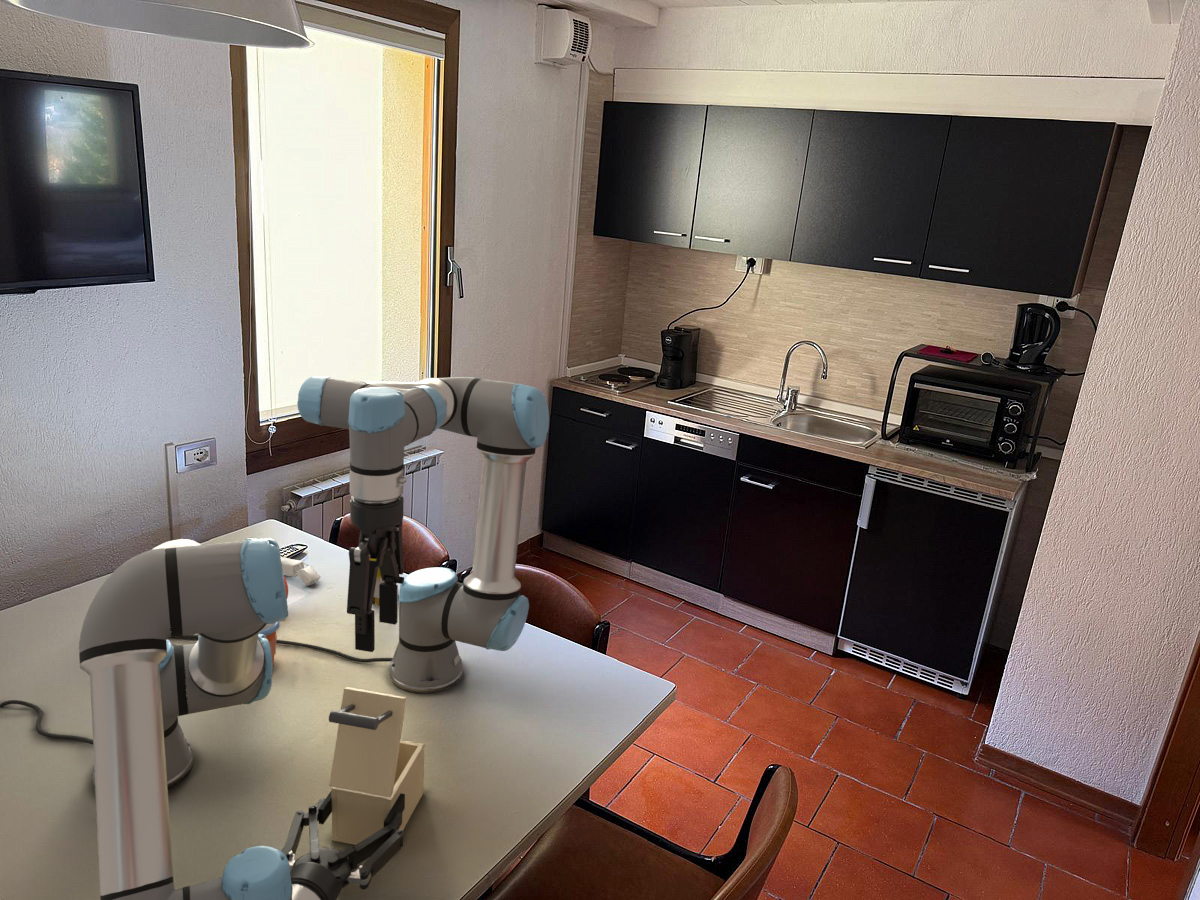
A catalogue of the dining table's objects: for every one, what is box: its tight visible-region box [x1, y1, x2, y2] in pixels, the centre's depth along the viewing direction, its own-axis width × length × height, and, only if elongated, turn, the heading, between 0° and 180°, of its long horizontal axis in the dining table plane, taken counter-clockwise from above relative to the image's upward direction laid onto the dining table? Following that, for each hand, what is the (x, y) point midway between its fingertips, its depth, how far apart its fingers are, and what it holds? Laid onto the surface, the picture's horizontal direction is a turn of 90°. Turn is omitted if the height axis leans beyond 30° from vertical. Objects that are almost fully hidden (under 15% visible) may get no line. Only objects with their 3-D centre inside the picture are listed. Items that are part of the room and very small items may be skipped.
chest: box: [330, 739, 425, 846], centre depth 140 cm, size 14×10×10 cm
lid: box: [328, 686, 407, 798], centre depth 128 cm, size 15×10×8 cm
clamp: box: [279, 547, 322, 587], centre depth 219 cm, size 20×4×7 cm, turn 62°
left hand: (371, 794), depth 136 cm, fingers closed on chest, 10 cm apart
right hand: (377, 635), depth 130 cm, fingers open, 8 cm apart
